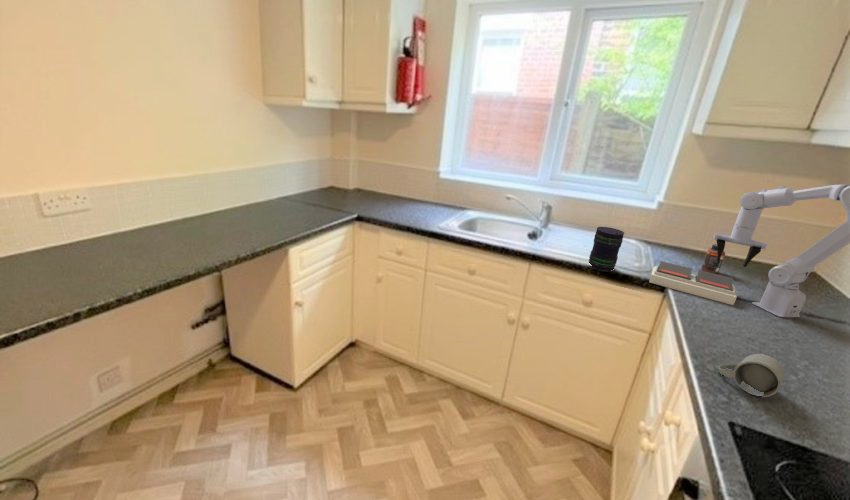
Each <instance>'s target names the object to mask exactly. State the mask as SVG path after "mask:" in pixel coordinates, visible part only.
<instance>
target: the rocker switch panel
mask: <svg viewBox="0 0 850 500" xmlns="http://www.w3.org/2000/svg"><path fill="white" fill-rule="evenodd" d="M658 268H659V265H658V264H657V265H655V266H654V267H653V269H652V272H651V275H650V278H649V281H648V283H650V284H654V285H658V286H661V287H664V288H669V289H672V290H676V291H679V292H683V293H687V294H692V295H694V296H697V297H702V298H705V299H709V300H712V301H716V302H720V303H723V304H728V305H731V306H734V304H735V302H736V300H737V292H736V288H735V285H734V284H732V291H730V290H726V289H723V288H719V287H715V286H711V285H707V284H703V283H699V282H696V279H697V274H694V273H691V276H690V280H688V279H684V278H680V277H676V276H672V275H668V274H664V273H660V272H657V271H658Z"/></svg>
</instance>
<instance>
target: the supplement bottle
mask: <svg viewBox="0 0 850 500" xmlns="http://www.w3.org/2000/svg"><path fill="white" fill-rule="evenodd" d="M725 246H726V245H725ZM725 246H724V249H723V251H722V254H721V258H720V261H717V256H718V247H717V243H713V244H712V246H711V248H708V249H707V251H706V254H705V256H704V259H703V262H702V265H701V269H700V270H702V271H706V272H710V273H714V274H718V273H719V272H720V270H721V267H722V265H723V261H724V258H725V256H726V252H725V248H726V247H725Z"/></svg>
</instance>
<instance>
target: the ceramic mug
mask: <svg viewBox="0 0 850 500" xmlns="http://www.w3.org/2000/svg"><path fill="white" fill-rule="evenodd" d="M726 368H728V369H732V370H723V369H726ZM718 370H719V371H718ZM717 371H718V373H719V372H720V373H721V374H723V375H724V376H726V377H725V378H729V379H733V380H734V382H735V384H736V386H738V385H740V384H741V382H742V381H744V382H745V383H746V384H748V385H750V386H751V387H753V388H754V389H756V390H758V391H760V392H764V395H763V397H762V398H768V397H771V396H775V394H777V393H778V392H779V391H780V389H781V385H782V383H783V380H784V377H785V373H784V368H783V366H782V365H781V363H780V362H779V361H777V360H776V359H775V358H774V357H772V356H771V355H767V354H764V353H755V354H754V353H753V354H750V355H747V356H745V358H743V359H742V361H740V362H739V363H725V364H723V363H722V364H720V365H719V366H718V367H717ZM724 376H723V377H724Z"/></svg>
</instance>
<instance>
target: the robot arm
mask: <svg viewBox="0 0 850 500" xmlns="http://www.w3.org/2000/svg"><path fill="white" fill-rule="evenodd" d="M827 198H829V199H831V200H833V201H840V202H841V204H842V206H843V207H844V209H845V211H846V218H847V220H846V221H844V222H843V223H841V224H840V225H839V226H837V227H836V228H835V229H833V230H832V231H830V232H829V233H828V234H826V235H825V236H824V237H823V238H821V239H820V240H819V241H816V242H815V243H814V244H813V245H811V246H810V247H809V248H807V249H805V251H802V252H801V253H800V254H799V255H798V256H796V257H794V258H792V259H790V260H787V261H786V262H783V264H781V265H776V266H773V267H772V268H771V269H769V271H768V279H769V280H768V283H767V285H766V288H765V290H764V292H763V295H762V297H761V299H760V301H753V302H751V304H753V305H754V306H757V307H758V308H761V309H762V310H765V311H766V312H769V313H771V314H773V315H775V316H777V317H779V318H800V316H801V315H800V313H801V311H802V309H803V307H804V304H805V302H806V300H807V295H806V294H805V292H802V291H800V290H799V289H800V284H801V283H803V282H804V281H805V280H806V281H807V279H808V277H809V275H810V274H811V273H812V272H813V271H815V268H816V267H817V266H818V265H819V264H821V263H823V262H824V261H826V260H827V259H829V258H830V257H832V256H833V255H835V254H836V253H838V252H839V251H841V250H842V249H844V248H845V247H846V246H848V245H850V184H831V185H824V186H818V187H817V186H816V187H810V188H804V189H798V190H795V189H793V188H792V187H789V186H788V187H786V186H778V188H776V189H769V190H768V189H761V190H760V192H759V191H749V192H746V193H744V194H743V195H741V197H740V200H739V204H740V206H741V207H740V210H739V212H738V214H737V217H736V220H735V223H734V225H733V227H732V231H731V235H729V234H720V233H714V235H713V240H716V244H717V247H718V256H717V261H720V258H721V254H722V251H723V249H724V250H725V248H724V246H726V242H727V243H732V244H736V245H742V246H746V247H749V249H748V252H747V254H746V257H745V260H744V261H743V264H742V266H743V267H745V268H747V266H748V265H749V263H750V262H751V261H752V260H753V259H754V258H755V257H756V256H757V255H758V254H760V253H761V251H762V250H764V251H766V249H767V245H768V243H767V242H762V241H758V240H755V239H754V240H753V236H754V232H755V230H756V228H757V225H758V223H759V220H760V218H761V215H762V213H763V210H764V209H769V208H770V209H771V208H779V207H790V206H792V205H794V204H795V203H796V202H798V201H808V200H819V199H827Z"/></svg>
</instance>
